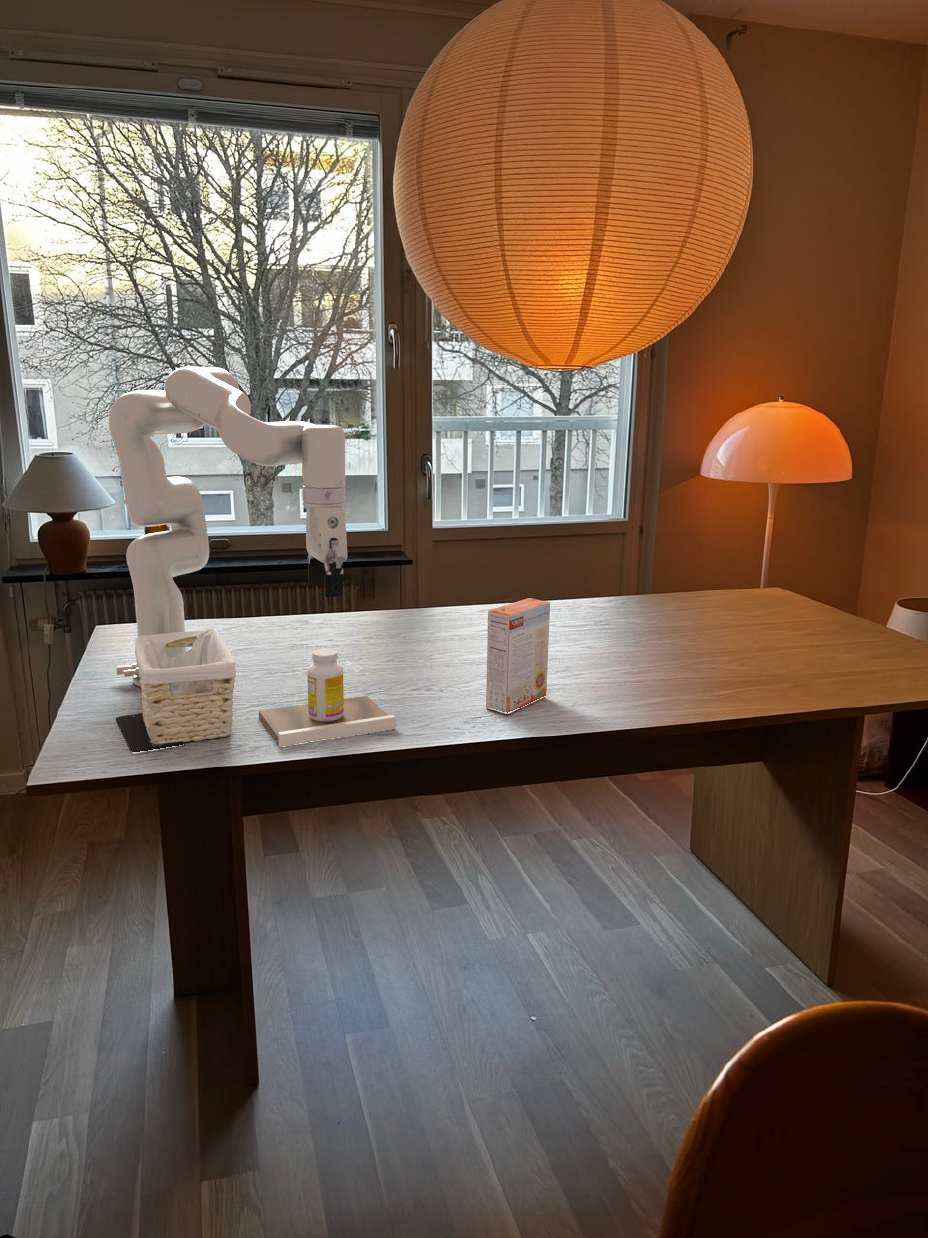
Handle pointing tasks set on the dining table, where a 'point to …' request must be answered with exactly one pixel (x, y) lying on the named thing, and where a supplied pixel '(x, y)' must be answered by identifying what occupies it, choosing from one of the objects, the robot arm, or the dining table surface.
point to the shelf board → (300, 719)
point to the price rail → (337, 730)
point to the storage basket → (186, 686)
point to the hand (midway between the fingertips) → (325, 590)
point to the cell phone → (139, 733)
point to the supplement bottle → (325, 686)
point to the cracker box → (517, 654)
